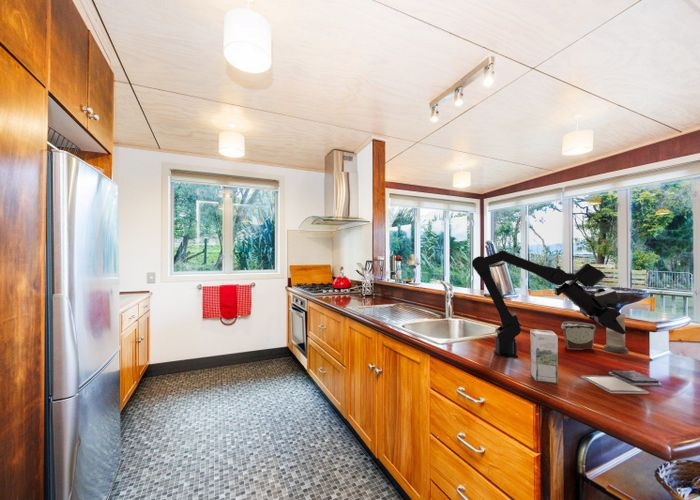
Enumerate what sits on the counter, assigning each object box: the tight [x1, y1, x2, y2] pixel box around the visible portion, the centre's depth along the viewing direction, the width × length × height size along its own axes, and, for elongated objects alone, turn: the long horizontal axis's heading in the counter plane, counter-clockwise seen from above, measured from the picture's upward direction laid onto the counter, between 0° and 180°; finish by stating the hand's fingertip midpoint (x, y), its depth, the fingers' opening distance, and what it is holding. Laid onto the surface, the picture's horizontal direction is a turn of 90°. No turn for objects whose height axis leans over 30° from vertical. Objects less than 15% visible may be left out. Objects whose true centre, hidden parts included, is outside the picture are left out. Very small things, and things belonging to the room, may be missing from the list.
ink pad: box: [608, 370, 663, 386], centre depth 86 cm, size 8×8×1 cm
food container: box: [560, 321, 597, 350], centre depth 117 cm, size 12×6×10 cm, turn 84°
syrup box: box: [529, 328, 559, 384], centre depth 86 cm, size 6×6×14 cm
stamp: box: [603, 312, 629, 355], centre depth 95 cm, size 6×6×13 cm
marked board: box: [580, 375, 650, 395], centre depth 82 cm, size 10×10×1 cm
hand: (620, 331), depth 94 cm, fingers closed on stamp, 5 cm apart
